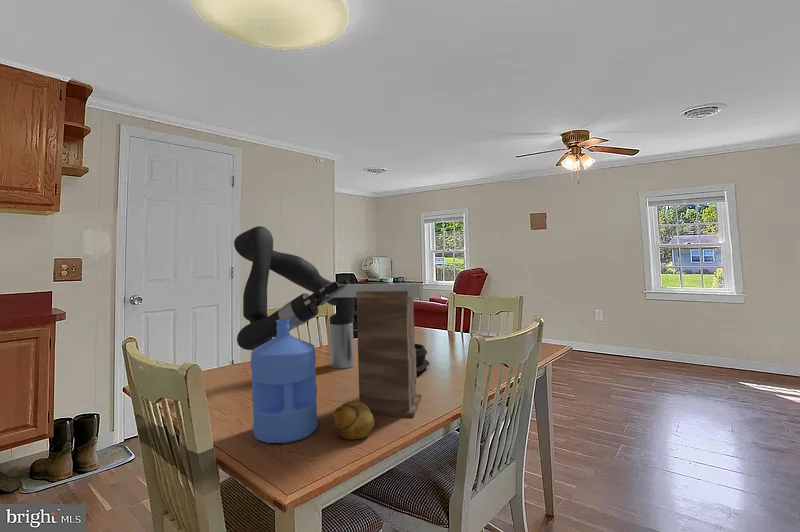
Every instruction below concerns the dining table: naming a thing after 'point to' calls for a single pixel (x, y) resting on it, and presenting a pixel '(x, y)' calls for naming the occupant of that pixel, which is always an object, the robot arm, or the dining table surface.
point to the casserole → (421, 358)
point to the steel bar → (376, 289)
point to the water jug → (284, 388)
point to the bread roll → (353, 420)
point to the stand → (387, 353)
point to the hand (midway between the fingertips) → (343, 283)
